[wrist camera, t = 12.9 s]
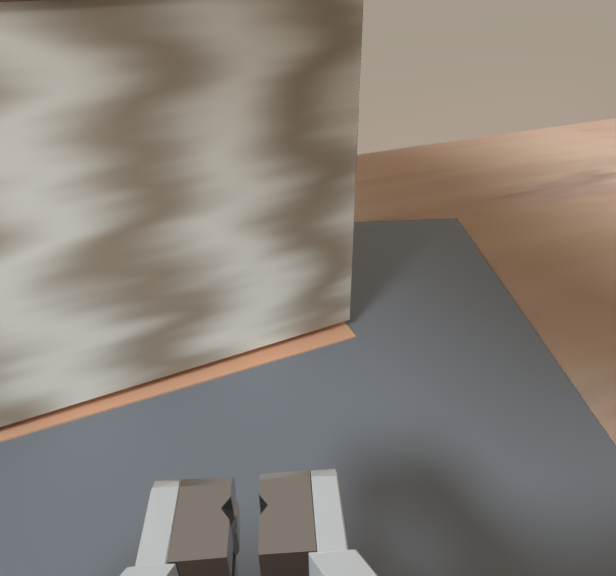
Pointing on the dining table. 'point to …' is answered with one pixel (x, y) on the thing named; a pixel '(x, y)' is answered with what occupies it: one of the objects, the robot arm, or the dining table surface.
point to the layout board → (345, 434)
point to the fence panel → (169, 186)
